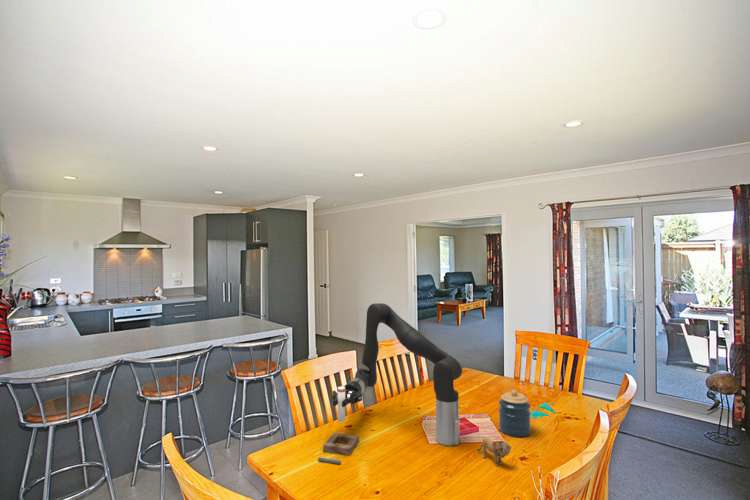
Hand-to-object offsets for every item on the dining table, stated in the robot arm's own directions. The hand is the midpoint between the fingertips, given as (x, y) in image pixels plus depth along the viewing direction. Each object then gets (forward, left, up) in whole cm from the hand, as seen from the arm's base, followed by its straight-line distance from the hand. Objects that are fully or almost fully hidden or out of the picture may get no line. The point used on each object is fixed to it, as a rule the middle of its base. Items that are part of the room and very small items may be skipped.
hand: (338, 404), depth 150 cm
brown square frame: (0, -3, -18) cm, 18 cm away
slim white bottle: (0, -3, -7) cm, 8 cm away
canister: (-67, -37, -18) cm, 79 cm away
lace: (0, +9, -18) cm, 20 cm away
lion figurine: (-58, -9, -18) cm, 62 cm away
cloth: (-82, -63, -19) cm, 105 cm away
